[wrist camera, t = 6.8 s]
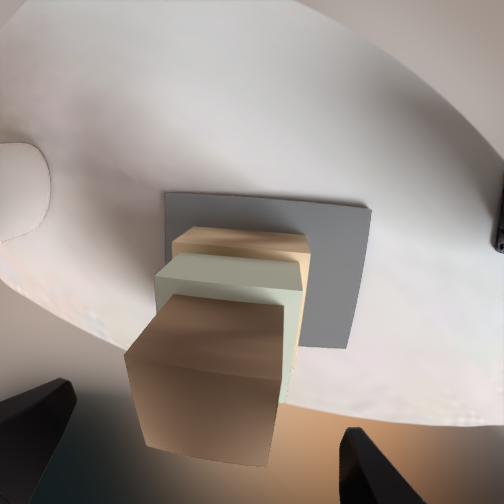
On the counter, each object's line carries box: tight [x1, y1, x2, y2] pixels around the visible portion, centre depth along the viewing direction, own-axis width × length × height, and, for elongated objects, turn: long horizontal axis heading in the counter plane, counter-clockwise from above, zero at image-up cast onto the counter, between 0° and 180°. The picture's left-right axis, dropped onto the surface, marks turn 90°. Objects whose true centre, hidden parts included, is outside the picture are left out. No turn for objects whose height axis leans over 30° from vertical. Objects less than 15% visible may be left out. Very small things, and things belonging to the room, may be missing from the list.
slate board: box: [165, 193, 372, 349], centre depth 20 cm, size 13×10×1 cm
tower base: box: [172, 226, 311, 369], centre depth 18 cm, size 7×7×4 cm
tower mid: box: [154, 252, 303, 403], centre depth 14 cm, size 6×6×4 cm
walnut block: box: [124, 294, 284, 467], centre depth 10 cm, size 4×4×4 cm
